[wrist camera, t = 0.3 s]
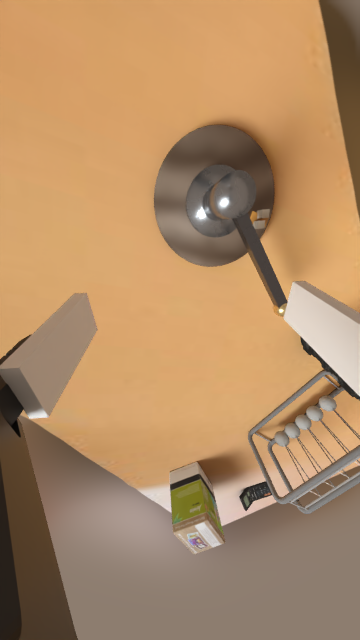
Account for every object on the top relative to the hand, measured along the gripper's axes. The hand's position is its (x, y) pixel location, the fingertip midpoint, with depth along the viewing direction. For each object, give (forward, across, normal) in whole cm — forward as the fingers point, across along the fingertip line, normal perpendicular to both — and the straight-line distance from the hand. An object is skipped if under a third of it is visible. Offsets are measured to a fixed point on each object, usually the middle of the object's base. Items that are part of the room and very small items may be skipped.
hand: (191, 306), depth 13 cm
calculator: (+20, +24, -87) cm, 93 cm away
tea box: (+19, +1, -72) cm, 75 cm away
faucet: (+25, +11, -1) cm, 27 cm away
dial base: (+28, +6, +5) cm, 29 cm away
